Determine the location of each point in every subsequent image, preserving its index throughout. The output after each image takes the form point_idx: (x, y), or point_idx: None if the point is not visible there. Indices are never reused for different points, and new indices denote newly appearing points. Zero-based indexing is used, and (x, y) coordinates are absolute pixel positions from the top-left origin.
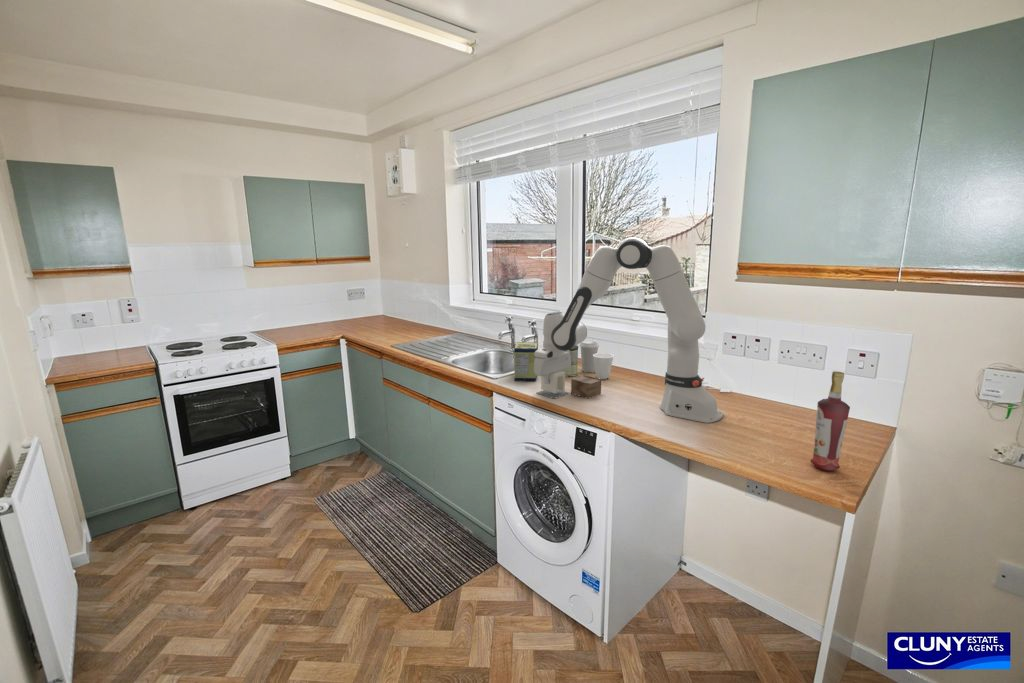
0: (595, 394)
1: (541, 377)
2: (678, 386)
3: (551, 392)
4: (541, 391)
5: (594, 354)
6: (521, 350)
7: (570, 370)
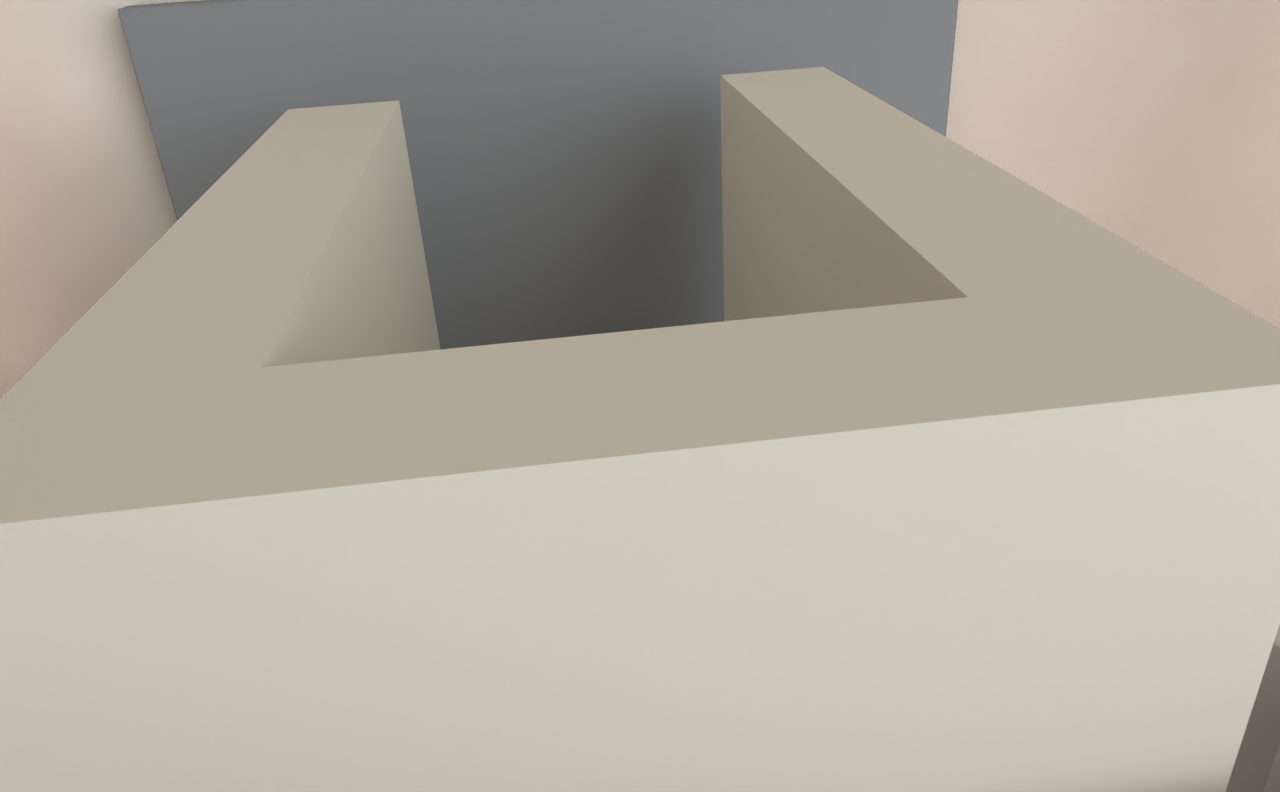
0: None
1: (117, 300)
2: None
3: (563, 327)
4: (363, 39)
5: None
6: None
7: None
